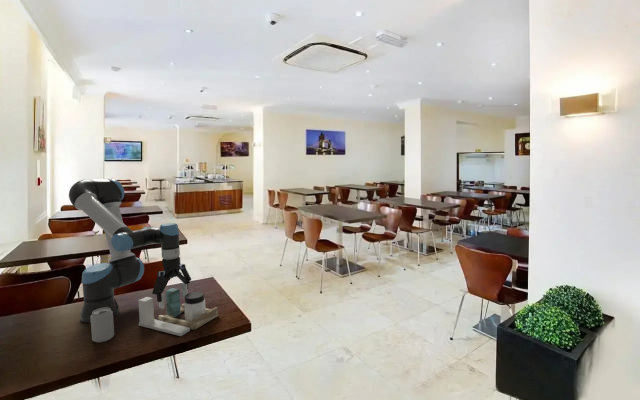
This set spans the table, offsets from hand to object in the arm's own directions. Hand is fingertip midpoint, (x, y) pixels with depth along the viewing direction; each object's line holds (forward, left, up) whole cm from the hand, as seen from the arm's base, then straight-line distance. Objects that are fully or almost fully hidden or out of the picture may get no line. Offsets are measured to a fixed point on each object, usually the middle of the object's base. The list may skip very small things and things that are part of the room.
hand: (173, 302), depth 152 cm
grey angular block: (+6, -11, -7) cm, 14 cm away
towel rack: (+9, 0, -7) cm, 11 cm away
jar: (+13, 0, -7) cm, 14 cm away
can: (-10, -26, -7) cm, 29 cm away
